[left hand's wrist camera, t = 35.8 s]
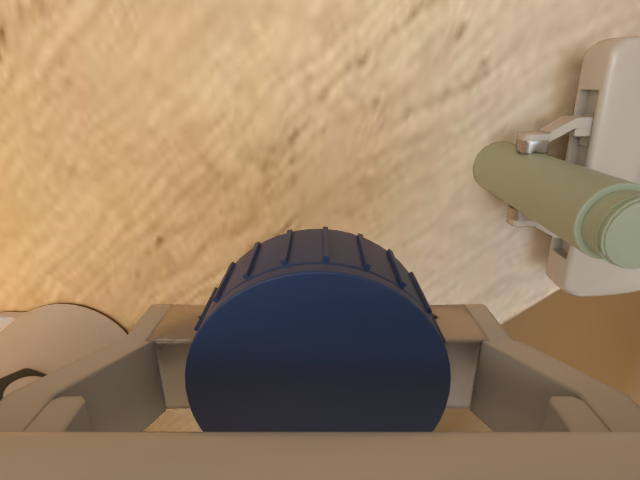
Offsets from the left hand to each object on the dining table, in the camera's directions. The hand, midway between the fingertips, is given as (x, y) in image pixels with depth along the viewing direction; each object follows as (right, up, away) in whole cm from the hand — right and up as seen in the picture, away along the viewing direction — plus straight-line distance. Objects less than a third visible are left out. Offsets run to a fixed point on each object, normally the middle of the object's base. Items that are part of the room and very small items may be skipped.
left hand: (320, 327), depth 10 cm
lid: (0, -1, -2) cm, 2 cm away
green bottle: (+17, +9, +27) cm, 33 cm away
